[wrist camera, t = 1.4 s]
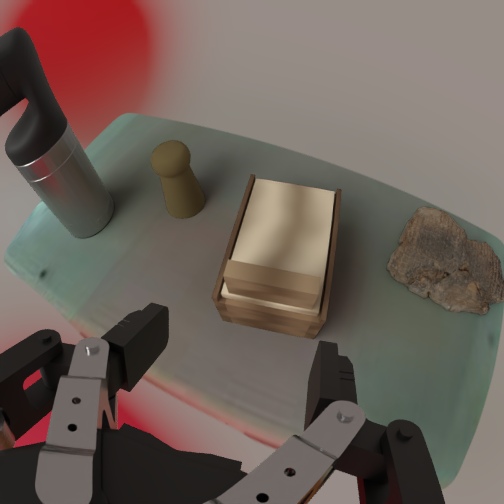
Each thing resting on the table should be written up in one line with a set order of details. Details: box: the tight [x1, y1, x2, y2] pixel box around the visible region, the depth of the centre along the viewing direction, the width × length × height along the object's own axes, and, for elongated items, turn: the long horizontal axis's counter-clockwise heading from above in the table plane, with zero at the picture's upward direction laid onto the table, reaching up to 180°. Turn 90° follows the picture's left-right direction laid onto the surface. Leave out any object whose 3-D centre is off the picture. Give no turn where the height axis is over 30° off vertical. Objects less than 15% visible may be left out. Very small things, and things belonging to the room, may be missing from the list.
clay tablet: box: [387, 207, 504, 315], centre depth 35 cm, size 14×5×20 cm
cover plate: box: [221, 179, 334, 316], centre depth 30 cm, size 9×15×5 cm, turn 167°
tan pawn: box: [151, 140, 205, 219], centre depth 40 cm, size 6×6×11 cm
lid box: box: [212, 174, 341, 339], centre depth 35 cm, size 11×16×8 cm
